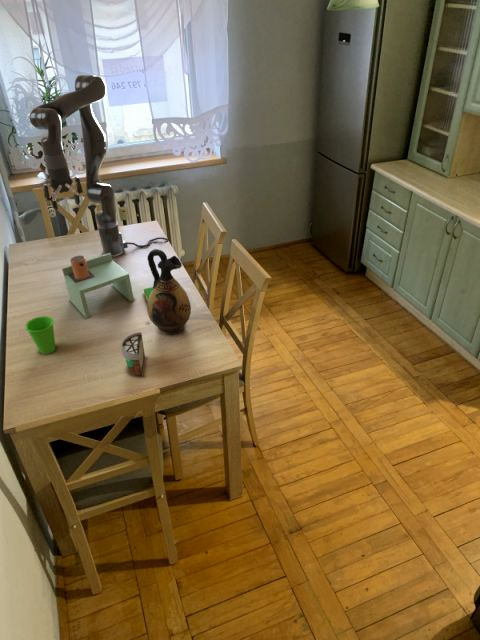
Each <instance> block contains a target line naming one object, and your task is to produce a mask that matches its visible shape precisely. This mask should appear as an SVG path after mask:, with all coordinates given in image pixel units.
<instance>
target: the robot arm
mask: <svg viewBox="0 0 480 640" xmlns="http://www.w3.org/2000/svg"><path fill="white" fill-rule="evenodd" d="M106 95H107V84H106V82H105V80H104V79H103V77H102V76H98V75H90V74H89V75H88V74H79V75H77V77H76V78H75V80H74V91H70V92H67V93H64V94H62V95H60V96H58V97H56V98H55V99H53V100H52V101H50V102H47V103H44V104H40V105H38V106H36V107H34V108H32V110H31V111H30V113H29V122H30V124H31V125H32V126H33V127H34V128H35V129H38V130H46V131H47V135H45V136H42V137H41V139H40V144H41V148H42V152H43V156H44V157H43V158H44V163H45V167H46V169H47V174H48V177H49V183H42V184H41V185H42V190H43V196H44V199H45V200H46V201H48V202H49V201H50V202H51V203H50V204H51V206H52V209H54V210H55V211H58V210H59V206H58V203H57V200H56V199H57V197H58V196H59V194H63V193H67V192H69V191H70V192H71V193H73V197H74V198H73V199H74V203H75V205H76V206H78V205H80V203H81V200H80V194H83V192H84V190H83V187H82V183H81V180H80V178H79V177H78V176H74V177H73V178H71V175H70V170H69V165H68V161H67V158H66V155H65V151H64V148H63V143H62V121H65V120H66V119H68V118H69V117H70V116H72V115H73V114H75V113H76V112H79V118H80V119H79V120H80V126H81V136H82V137H81V138H82V146H83V153H84V164H85V165H84V166H85V191H86V192H85V193H86V197H87V200H88V202H89V203H91V204H92V205H97V206H101V210H99V211H97V212H96V213H95V222H96V226H97V231H98V235H99V240H100V245H101V249H102V255H105V254H108V253H111V256H112V258H115V257H116V258H117V257H119V256H121V255H122V254H124V253H125V252H126V251H125V249H127V248H129V246H128V245H132V246H135V247H137V248H146V247H148V246H150V243H151V242H153V241H157V240H164V241H167V242H170V239H169V238H167V237H161V236H160V237H159V236H158V237H154V238H152V239H149V240H148V241H147V243H146V244H143V245H140V244H137V243H135V242H128V241H126V240H125V239H123V234H122V233H121V232H120V227H119V222H118V217H117V216H118V215H117V211H118V208H117V200H116V194H115V190H114V188H113V186H112V185H110V184H107V183H101V182H100V170H101V167H102V164H103V162H104V160H105V157H106V154H107V143H106V141H107V140H106V134H105V133H104V130H103V129H102V127H101V125H100V124H99V121H98V120H97V118H96V117H95V114H94V112H93V108H92V104H94V103H97V102H100V101H102V100H104V99H105V97H106ZM73 183H74V184H75V186H76V190H75V188H73V187H72V185H73ZM51 188H52V189H51ZM50 189H51V194H50Z"/></svg>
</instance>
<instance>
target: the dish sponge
mask: <svg viewBox="0 0 480 640" xmlns="http://www.w3.org/2000/svg"><path fill="white" fill-rule="evenodd" d="M152 290H153V286H152V287H151V286H150V287H147V288H144V289H143V295H144V297H145V299H146V302H148V300H149V296H150V294H151V292H152Z"/></svg>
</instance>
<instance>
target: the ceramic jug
mask: <svg viewBox="0 0 480 640" xmlns="http://www.w3.org/2000/svg"><path fill="white" fill-rule="evenodd" d="M154 257H159V259H160V261H159V262H158V263H157V265H156V262H155V260H154V259H155V258H154ZM147 262H148V267H149V269H150V272H151V275H152V277H153V285H152V287H153V290H152V292H151V294H150V296H149V300H148V301H147V305H146V306H147V315H148V318H149V320H150V321H151V323H152V324H153V325H154V326H155V327H157V330H159V331H160V333H162V334H165V335H168V336H172V335H175V334H179V333H181V332H182V331H183V330H184V329H185V328H184V327H185V325H186V323H188V321H189V319H190V317H191V314H192V313H191V312H192V305H191V301H190V298H189V296H188V294H187V291H186V290H185V289H184V287H183V286H182V285H181V284H180V282H179V281H178V280H177V279H176V278H175V277H174V276H173V275H172V271H174V270H178V269H180V268H182V266H183V265H182V262H181V260H180V259H179V258H178V257H177V256H176V255H173V256H171V257H169V258H168V256H167V254H166V253H165V252H164V251H163V250H162V249H158V248H154V249H152V250H150V251H149V252H148V255H147ZM158 269H160V273H159V271H158Z"/></svg>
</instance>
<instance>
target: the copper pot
mask: <svg viewBox="0 0 480 640" xmlns="http://www.w3.org/2000/svg"><path fill="white" fill-rule="evenodd" d="M86 260H87V259H86V257H85V256H84V255H75V256H72V257H71V258H70V259H69V262H70V265H72V269H73V273H74V277H75V279H77V280H82V279H86V278H88V277H89V272H88V268H87V263H86Z"/></svg>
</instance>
